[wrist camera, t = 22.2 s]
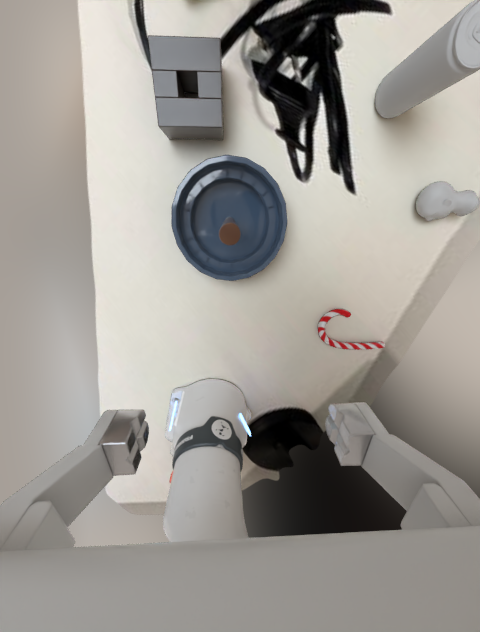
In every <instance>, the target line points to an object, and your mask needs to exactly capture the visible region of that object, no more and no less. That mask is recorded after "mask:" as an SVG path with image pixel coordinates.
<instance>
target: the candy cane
mask: <svg viewBox="0 0 480 632" xmlns="http://www.w3.org/2000/svg"><path fill="white" fill-rule="evenodd" d="M336 315H343V316H345V317H350V316H351V313H350V312H349V311H347V310H344V309H335V310H332V311H330V312H328V313H326V314H325V315H324V316H323V317H322V318H321V320H320V322H319V325H318V333H319V336H320V338H321V339H322V340H323V341H324V342H325V343H326V344H328V345H330V346H333V347H336V348H341V349H378V348H384V347H385V344H384V343H383V342H371V343H346V342H338V341H334V340H332V339H330V338H329V337H328V336H327V335H326V333H325V326H326V324H327V322H328V320H330V319H331V318H332V317H334V316H336Z"/></svg>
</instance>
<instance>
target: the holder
mask: <svg viewBox="0 0 480 632" xmlns="http://www.w3.org/2000/svg"><path fill="white" fill-rule="evenodd" d="M148 41H149V50H150V58H151V67H152V75H153V84H154V92H155V100H156V109H157V118H158V126H159V127H160V128H161V130H162V131H163V132H164V133H165V135H166V136H167V137H168V138H169V139H210V140H223V99H222V61H221V42H220V38H206V37H178V36H149V35H148ZM185 93H198V98H185Z"/></svg>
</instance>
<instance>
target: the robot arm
mask: <svg viewBox="0 0 480 632" xmlns="http://www.w3.org/2000/svg"><path fill="white" fill-rule="evenodd" d="M328 410H329V413H330V415H329V416H328V417H327V418H326V431H327V434H328V437H329V439H330V441H332V442H333V443H334V444H335V449H334V451H335V453H336V455H337V457H338V460H339V461H340V464H341V465H342V466H352V465H354V466H357V465H358V466H359V465H362V467H363V468H364V469H365V470H366V471H367V472H368V473H369V474H370V475H371V476H372V477H373V478H374V479H375V480H376V481H377V482H378V483H379V484H380V485H381V486H382V487H383V488H384V489H385V490H386V491H387V492H388V493H389V494H390V495H391V496H392V497H393V498H394V499H395V500H397V502H398V503H399V504H400V505H401V506H403V507H404V508H405V510H407V513H406V514H405V516H404V518H403V520H402V522H401V527H402V529H403V530H392V531H372V532H354V533H336V534H335V533H334V534H315V535H296V536H277V537H259V538H248V534H247V531H246V527H245V521H244V515H243V505H242V490H241V470H242V465H243V451H242V448H243V447H244V445H246V442H247V432H248V434H249V436H251V432H250V430H249V428H248V426H247V422H248V421H249V420H250V418H251V411H250V410H249V408H248V407H247V406H246V404H245V399H244V396H243V394H242V392H241V391H240V390H239V389H238V388H237V387H236V386H235V385H233V384H232V383H230V382H227V381H224V380H220V379H205V380H201V381H198V382H195V383H193V384H191V385H189V386H187V387H181V388H176V389H174V390H173V391H172V396H171V402H170V408H169V414H168V420H167V426H166V432H165V438H166V439H168V440H169V441H170V442H172V446H171V450H170V453H171V455H172V456H173V472H172V474H171V477H170V483H171V484H170V489H169V493H168V498H167V503H166V507H165V512H164V517H163V528H164V532H165V535H166V537H167V538H168V540H169V541H170V542H164V543H145V544H127V545H108V546H91V547H73V546H74V544H75V540H74V537H73V536H72V534H71V533H70V531H69V529H68V528H67V527H68V526H69V525H70V524H71V523H72V522H73V521H74V520H75V519H76V517H77V516H78V515H79V514H80V513H81V512H82V511H83V510H84V509H85V508H86V506H87V505H88V504H89V503H90V502H91V501H92V500H93V499H94V498H95V497H96V496H97V494H98V493H99V492H100V491H101V490H102V489H103V488H104V487H105V486H106V485H107V483H108V482H109V481H110V480H111V479H112V478H113V476H116V475H130V474H136V471H137V468H138V465H139V463H140V460H141V454H140V451H141V450H142V449H143V448H145V446H146V443H147V440H148V434H149V427H148V423H147V422H146V421H144V419H145V417H146V414H145V411H144V410H107V411H105V412H104V413H103V415H102V416H101V418H100V419H99V421H98V423H97V424H96V426H95V427H94V429H93V430H92V432H91V434H90V435H89V437H88V438H87V440H86V442H85V443H84V445H83V446H78V447H77V448H75V449H74V450H73V451H71V452H70V453H69V454H67V455H66V456H65V457H63V458H62V459H60V461H58V462H56V463H55V464H54V465H52V466H51V467H50V468H48V469H47V470H46V471H44V472H43V473H41V474H40V475H39V476H37V477H36V478H35V479H33V480H32V481H31V482H29V483H28V484H27V485H25V486H24V487H22V488H21V489H20V490H19V491H17V492H16V493H14V494H13V495H12V496H10V497H9V498H8V499H6V500H5V501H4V502H3V503H2V504H1V506H0V632H480V499H479V498H478V497H477V496H476V494H475V493H474V492H473V491H472V490H471V489H470V488H469V486H468V485H467V484H466V483H465V482H464V481H463V480H461V479H460V478H459V477H457V476H456V475H454V474H452V473H451V472H449V471H448V470H446V469H445V468H443V467H442V466H440V465H439V464H437V463H436V462H434V461H433V460H431V459H429V458H428V457H426V456H425V455H423V454H422V453H420V452H419V451H417V450H416V449H414V448H413V447H411V446H410V445H408V444H407V443H405V442H403V441H402V440H401V439H399V438H398V437H396V436H395V435H389V433H388V432H387V430H386V429H385V428H384V426H383V425H382V424H381V422H380V421H379V420H378V418H377V417H376V415H375V414H374V412H373V411H372V410H371V408H370V407H369V406H368V404H366V403H365V402H361V403H335V404H330V406H329V409H328Z"/></svg>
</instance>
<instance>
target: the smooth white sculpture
mask: <svg viewBox="0 0 480 632" xmlns="http://www.w3.org/2000/svg"><path fill="white" fill-rule="evenodd" d="M479 204H480V200H479V198H478V197H477V195H476V193H475V192H474V191H472V190H465V191H462V192H457V191H455V190H454V189H453V187H452V186H451V185H450V184H449V183H447V182H443V181H439V182H434V183H431V184H429V185H428V186H426V187H425V188H424V189H423V190H422V191H421V193H420V194H419V196H418V198H417V201H416V210H417V212H418V214H419V215H420V216H422V217H424V218H425V219H426V220H427V221H431V220H433V219H438V218H444V217H446V216H447V215H448V214H450V213H451V212H453V213H455V214H456V215H457V216H464V215H467V214H469V213H471V212H473V211H474V210H476V209H477V208H478V206H479Z"/></svg>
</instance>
